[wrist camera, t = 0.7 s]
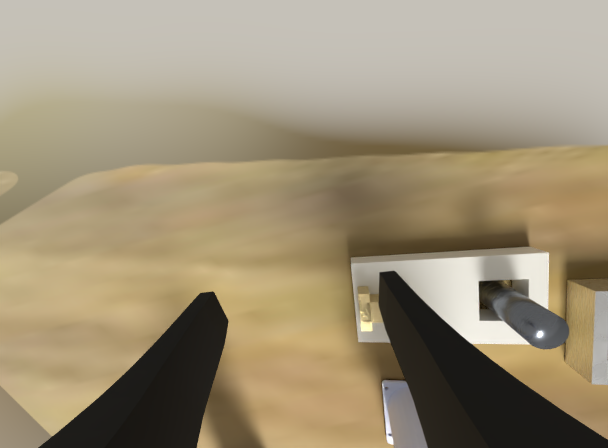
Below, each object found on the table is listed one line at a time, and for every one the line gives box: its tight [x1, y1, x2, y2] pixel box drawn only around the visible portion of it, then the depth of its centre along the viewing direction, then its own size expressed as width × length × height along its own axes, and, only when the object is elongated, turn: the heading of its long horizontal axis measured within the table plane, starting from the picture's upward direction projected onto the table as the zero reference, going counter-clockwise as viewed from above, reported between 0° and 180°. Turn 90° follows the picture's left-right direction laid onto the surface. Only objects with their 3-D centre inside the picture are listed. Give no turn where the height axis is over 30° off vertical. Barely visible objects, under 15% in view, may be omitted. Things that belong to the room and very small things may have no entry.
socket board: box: [351, 247, 549, 344], centre depth 27 cm, size 10×20×2 cm, turn 97°
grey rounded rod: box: [478, 280, 569, 349], centre depth 23 cm, size 3×3×8 cm
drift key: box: [357, 286, 383, 331], centre depth 26 cm, size 4×6×2 cm
